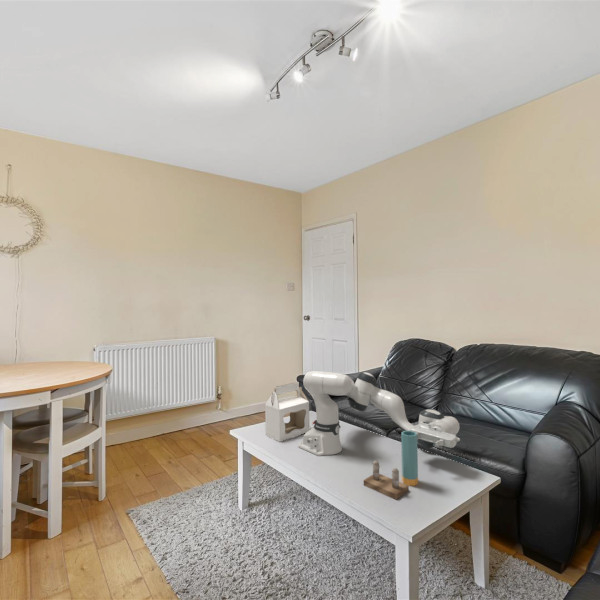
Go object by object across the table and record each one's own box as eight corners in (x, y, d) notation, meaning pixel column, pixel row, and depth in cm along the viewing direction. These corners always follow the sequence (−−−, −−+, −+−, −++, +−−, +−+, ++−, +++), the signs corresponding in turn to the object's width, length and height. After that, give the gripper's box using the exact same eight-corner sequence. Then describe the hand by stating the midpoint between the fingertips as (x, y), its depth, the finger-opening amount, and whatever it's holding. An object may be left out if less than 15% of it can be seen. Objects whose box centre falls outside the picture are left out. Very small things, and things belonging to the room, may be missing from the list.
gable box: (295, 425, 213) (294, 379, 213) (310, 431, 203) (309, 383, 203) (265, 435, 198) (264, 385, 198) (279, 442, 188) (278, 389, 188)
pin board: (363, 485, 143) (363, 462, 143) (376, 477, 150) (376, 455, 150) (396, 499, 132) (395, 475, 132) (408, 490, 139) (408, 467, 139)
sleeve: (399, 481, 145) (399, 433, 145) (407, 477, 149) (406, 429, 149) (412, 487, 141) (412, 437, 141) (420, 481, 145) (419, 433, 145)
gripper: (461, 445, 155) (448, 455, 146) (418, 433, 170) (403, 442, 161) (461, 431, 156) (448, 440, 146) (418, 420, 170) (403, 428, 161)
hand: (424, 441), depth 153 cm, fingers open, 8 cm apart
